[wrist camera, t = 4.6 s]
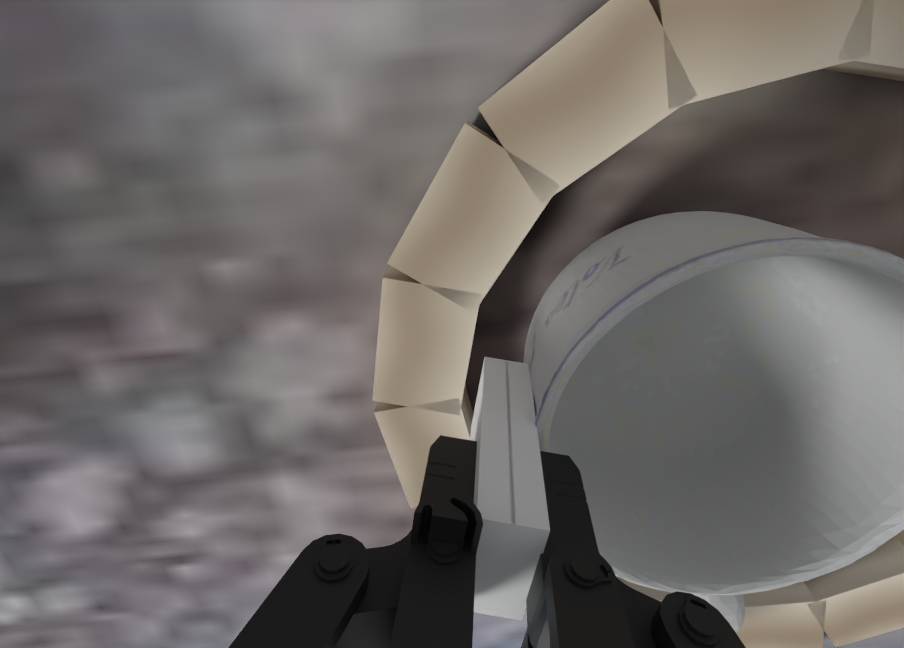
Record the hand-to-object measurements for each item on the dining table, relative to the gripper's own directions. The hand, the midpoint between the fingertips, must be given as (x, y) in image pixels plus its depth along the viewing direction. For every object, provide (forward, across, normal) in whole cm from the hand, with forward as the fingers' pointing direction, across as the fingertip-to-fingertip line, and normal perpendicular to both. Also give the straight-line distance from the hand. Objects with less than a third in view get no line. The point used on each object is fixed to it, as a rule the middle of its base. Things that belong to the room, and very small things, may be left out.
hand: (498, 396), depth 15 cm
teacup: (+5, -6, 0) cm, 8 cm away
